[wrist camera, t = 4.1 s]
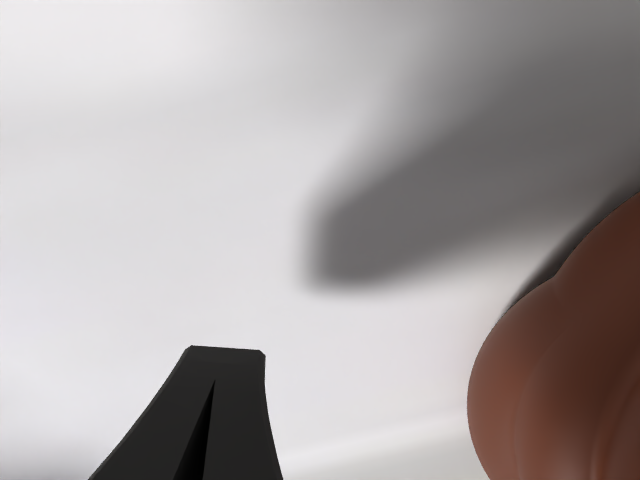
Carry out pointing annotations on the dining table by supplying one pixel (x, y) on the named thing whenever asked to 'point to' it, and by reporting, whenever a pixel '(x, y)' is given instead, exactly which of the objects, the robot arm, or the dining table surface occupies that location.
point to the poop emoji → (567, 368)
